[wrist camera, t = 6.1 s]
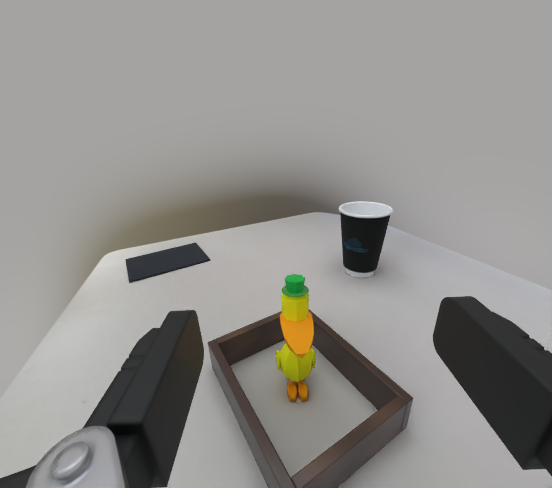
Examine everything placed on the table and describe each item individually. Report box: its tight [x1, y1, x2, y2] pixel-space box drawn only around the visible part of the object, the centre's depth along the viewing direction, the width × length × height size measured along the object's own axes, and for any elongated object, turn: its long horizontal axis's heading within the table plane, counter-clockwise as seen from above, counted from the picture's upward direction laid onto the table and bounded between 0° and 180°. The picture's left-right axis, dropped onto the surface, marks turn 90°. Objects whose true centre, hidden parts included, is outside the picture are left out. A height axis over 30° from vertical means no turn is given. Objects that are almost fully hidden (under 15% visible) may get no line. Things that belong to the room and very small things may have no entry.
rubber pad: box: [126, 243, 210, 282], centre depth 52 cm, size 14×10×1 cm
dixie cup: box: [339, 202, 393, 278], centre depth 43 cm, size 8×8×11 cm
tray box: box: [208, 309, 413, 488], centre depth 24 cm, size 12×15×4 cm
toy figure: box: [276, 274, 315, 401], centre depth 23 cm, size 7×4×12 cm, turn 2°
